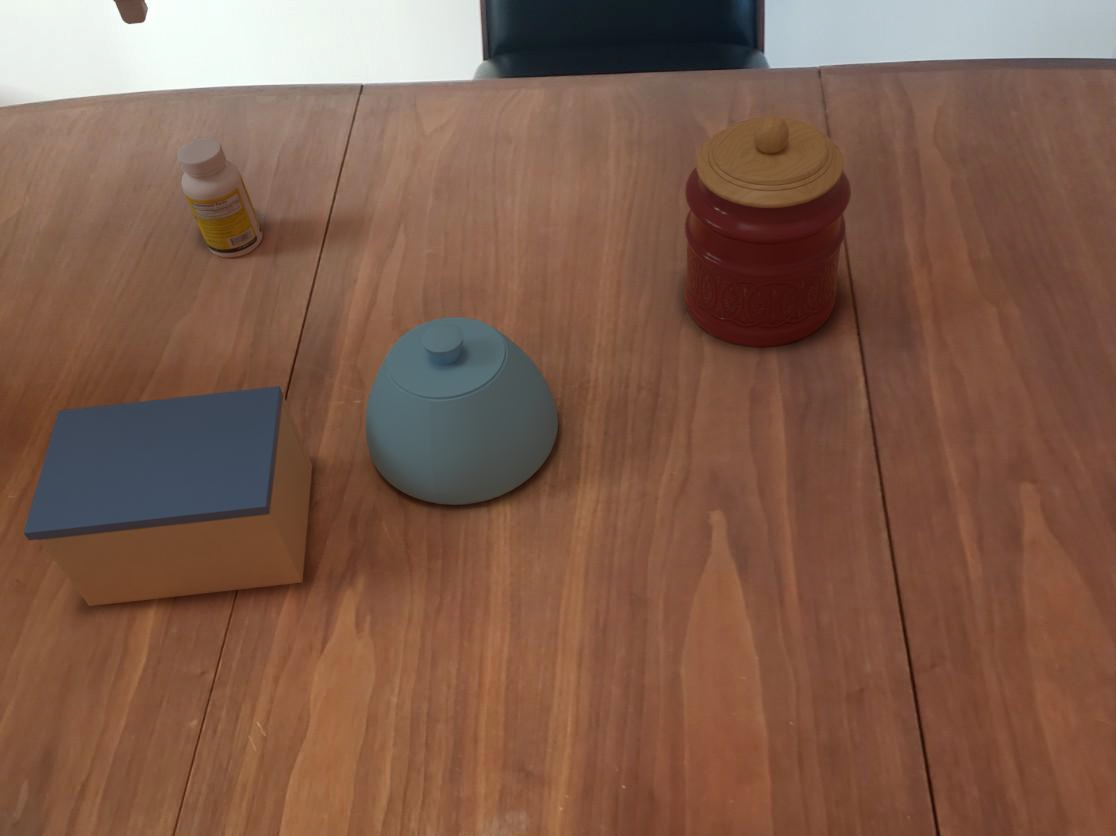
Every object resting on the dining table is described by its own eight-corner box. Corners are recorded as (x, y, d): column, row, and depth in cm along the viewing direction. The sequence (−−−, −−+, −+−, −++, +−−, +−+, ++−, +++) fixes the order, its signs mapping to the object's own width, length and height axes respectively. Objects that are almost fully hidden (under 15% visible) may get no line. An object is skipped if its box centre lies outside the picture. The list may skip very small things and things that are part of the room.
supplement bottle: (221, 223, 107) (184, 131, 99) (272, 227, 106) (239, 134, 98) (199, 257, 104) (159, 165, 96) (250, 261, 103) (215, 169, 95)
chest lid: (28, 540, 72) (22, 533, 72) (63, 418, 79) (57, 410, 78) (269, 514, 72) (266, 506, 72) (283, 393, 79) (279, 385, 78)
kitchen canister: (727, 377, 90) (737, 188, 76) (659, 288, 97) (656, 101, 83) (862, 328, 92) (896, 136, 78) (786, 245, 100) (804, 56, 85)
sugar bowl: (436, 364, 93) (409, 251, 84) (591, 412, 89) (581, 297, 79) (338, 484, 85) (296, 374, 76) (503, 543, 81) (480, 434, 72)
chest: (96, 615, 79) (38, 540, 72) (122, 497, 86) (71, 417, 79) (306, 591, 79) (270, 514, 72) (316, 475, 86) (283, 394, 79)
